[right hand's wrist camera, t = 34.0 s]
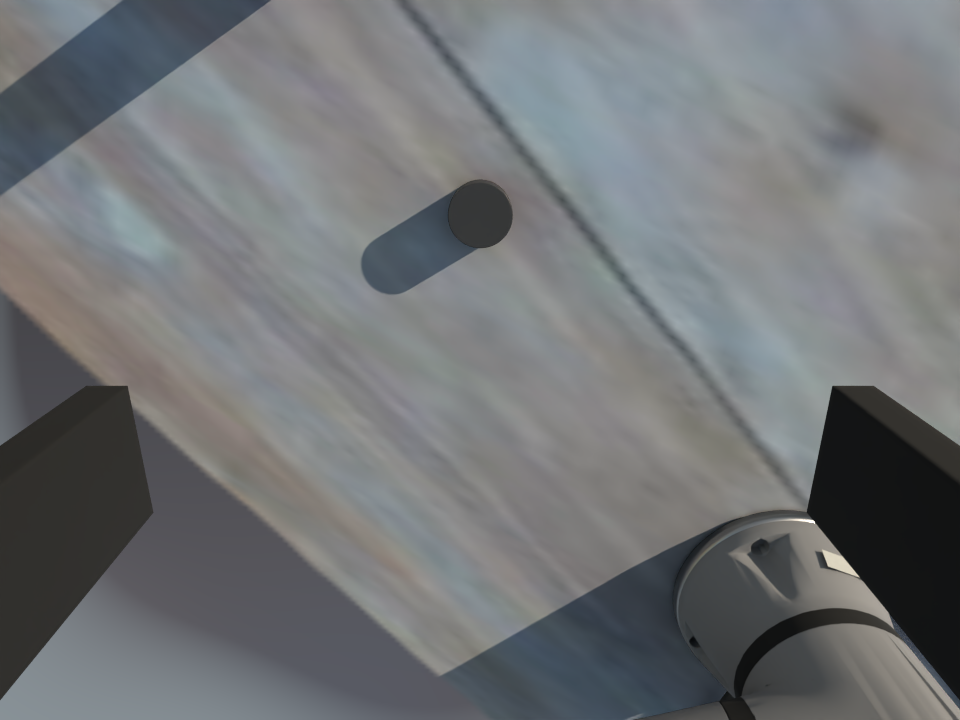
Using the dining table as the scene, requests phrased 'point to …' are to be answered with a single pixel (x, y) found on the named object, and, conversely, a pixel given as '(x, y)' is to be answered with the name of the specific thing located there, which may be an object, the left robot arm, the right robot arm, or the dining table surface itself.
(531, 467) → the dining table surface
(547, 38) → the dining table surface
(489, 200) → the cap
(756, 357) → the dining table surface
